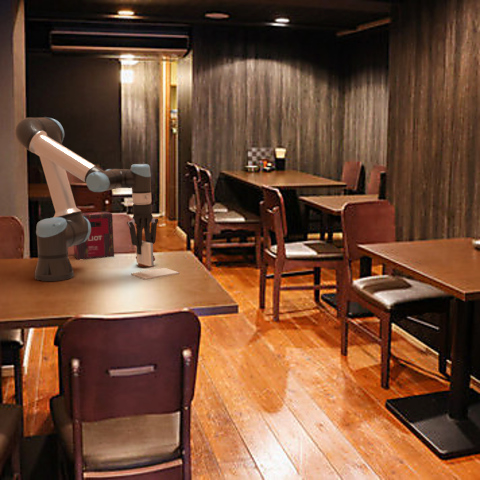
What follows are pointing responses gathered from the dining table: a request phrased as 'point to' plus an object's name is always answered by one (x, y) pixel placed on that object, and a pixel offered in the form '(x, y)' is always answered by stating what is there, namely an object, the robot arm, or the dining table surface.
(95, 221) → the box
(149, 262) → the tile
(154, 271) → the mat
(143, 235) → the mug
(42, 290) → the dining table surface
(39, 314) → the dining table surface
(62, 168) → the robot arm
